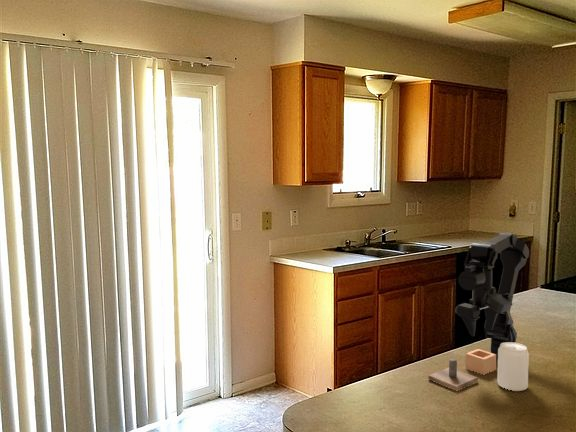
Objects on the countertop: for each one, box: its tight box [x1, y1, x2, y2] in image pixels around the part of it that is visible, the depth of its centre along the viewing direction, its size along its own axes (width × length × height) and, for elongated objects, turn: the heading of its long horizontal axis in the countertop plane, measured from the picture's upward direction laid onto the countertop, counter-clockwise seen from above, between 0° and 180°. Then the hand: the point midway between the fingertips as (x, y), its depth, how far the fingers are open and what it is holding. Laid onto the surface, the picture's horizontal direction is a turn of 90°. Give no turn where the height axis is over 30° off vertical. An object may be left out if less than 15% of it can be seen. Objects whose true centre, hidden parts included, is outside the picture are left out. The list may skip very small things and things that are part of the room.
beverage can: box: [497, 342, 530, 392], centre depth 149 cm, size 8×8×12 cm
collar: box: [465, 348, 497, 376], centre depth 162 cm, size 6×6×5 cm
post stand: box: [428, 358, 479, 391], centre depth 154 cm, size 10×10×6 cm
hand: (481, 332), depth 160 cm, fingers open, 9 cm apart
